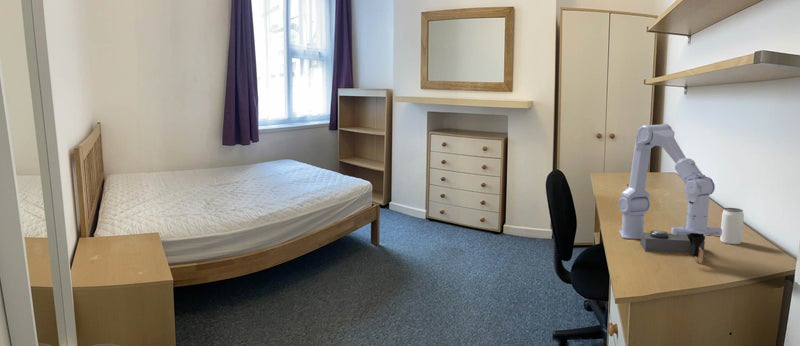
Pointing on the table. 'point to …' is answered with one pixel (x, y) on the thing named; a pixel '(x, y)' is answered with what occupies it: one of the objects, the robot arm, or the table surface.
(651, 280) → the table surface
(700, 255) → the side door
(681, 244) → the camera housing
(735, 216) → the can
